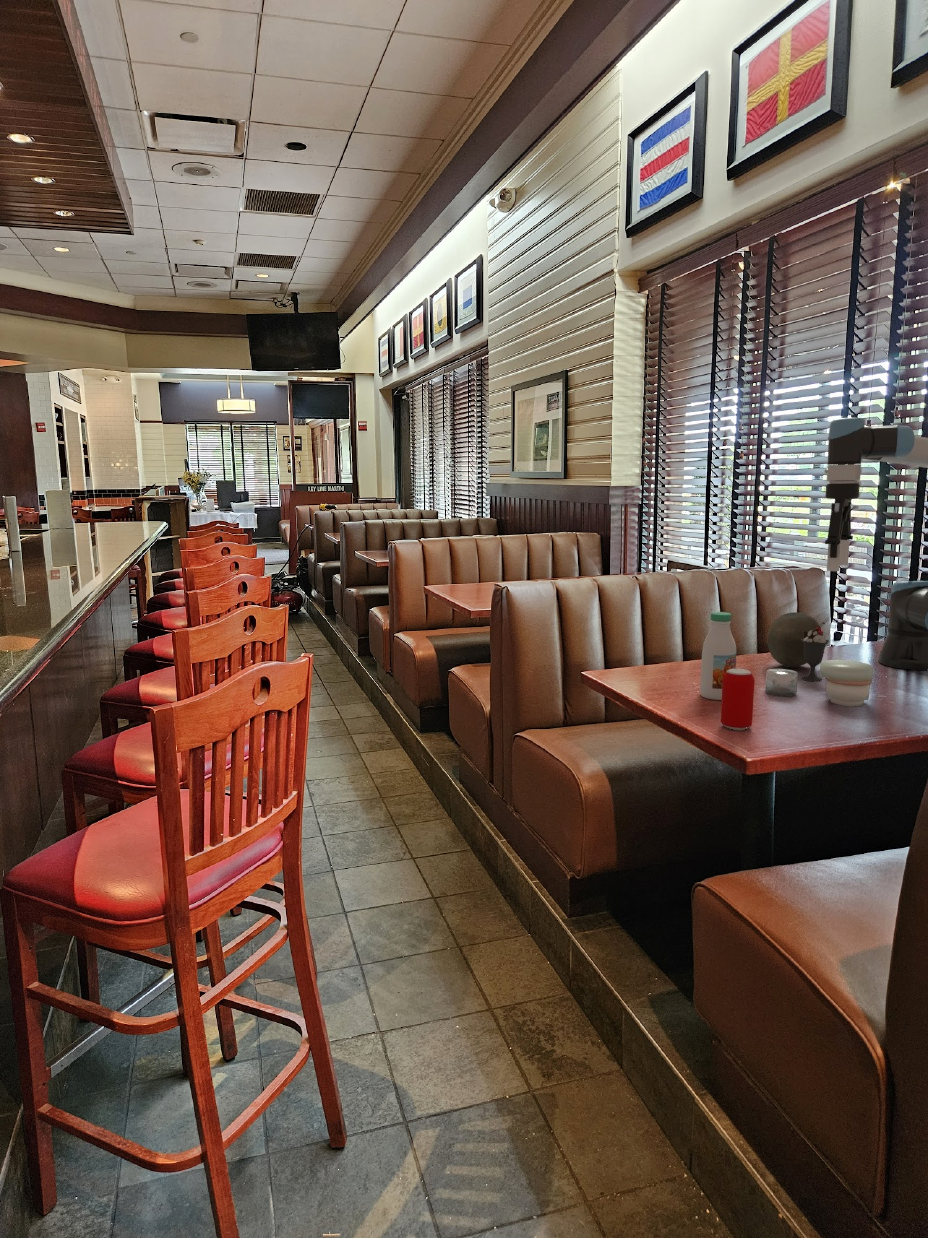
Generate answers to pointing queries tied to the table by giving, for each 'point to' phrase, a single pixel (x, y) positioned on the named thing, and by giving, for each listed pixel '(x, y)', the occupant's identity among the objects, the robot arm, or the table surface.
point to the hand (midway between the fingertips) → (837, 568)
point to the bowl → (847, 692)
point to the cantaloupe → (790, 638)
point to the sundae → (813, 650)
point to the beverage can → (737, 699)
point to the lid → (846, 670)
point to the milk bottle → (717, 656)
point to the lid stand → (781, 682)
